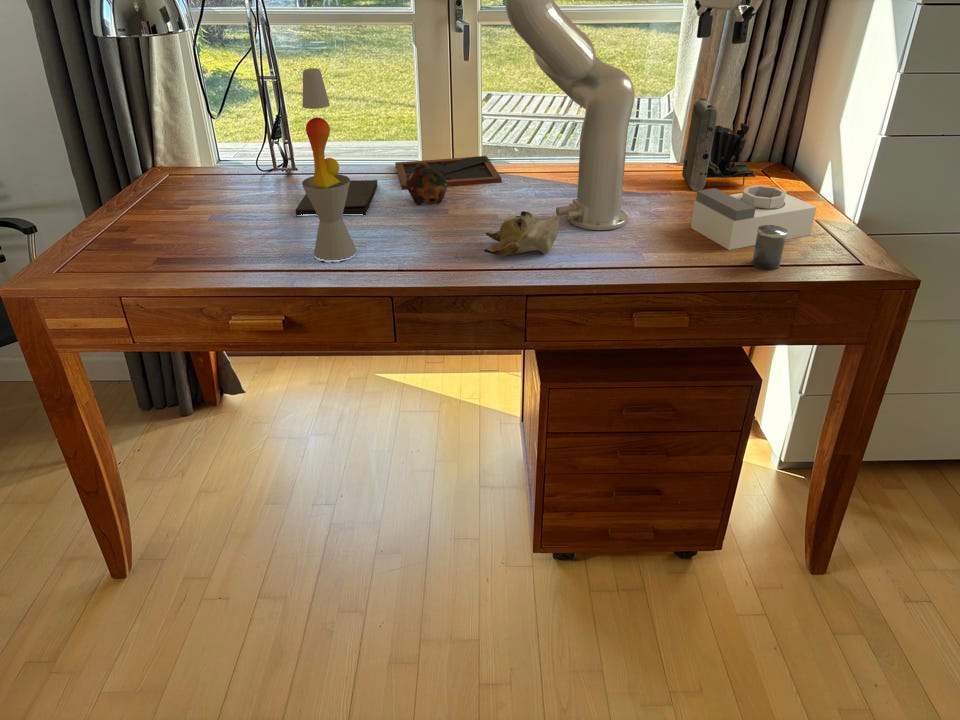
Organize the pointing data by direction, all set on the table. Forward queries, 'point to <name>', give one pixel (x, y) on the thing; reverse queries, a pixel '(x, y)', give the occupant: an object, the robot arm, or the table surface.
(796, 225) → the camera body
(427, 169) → the brown rounded lump
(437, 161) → the picture frame
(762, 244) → the silver grey short cylinder
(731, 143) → the vintage camera
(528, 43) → the robot arm
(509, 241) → the ceramic sculpture
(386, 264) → the table surface
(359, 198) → the dark brown rectangular slab
